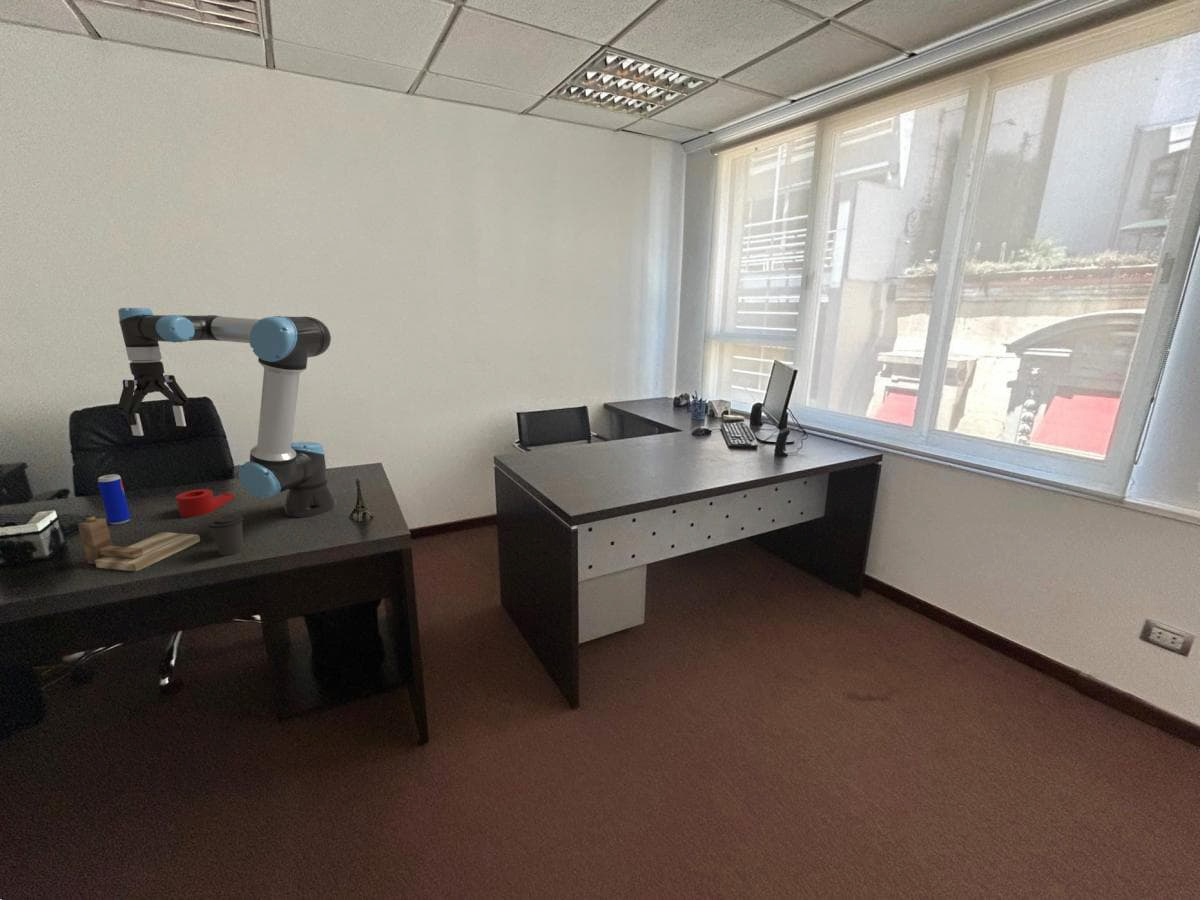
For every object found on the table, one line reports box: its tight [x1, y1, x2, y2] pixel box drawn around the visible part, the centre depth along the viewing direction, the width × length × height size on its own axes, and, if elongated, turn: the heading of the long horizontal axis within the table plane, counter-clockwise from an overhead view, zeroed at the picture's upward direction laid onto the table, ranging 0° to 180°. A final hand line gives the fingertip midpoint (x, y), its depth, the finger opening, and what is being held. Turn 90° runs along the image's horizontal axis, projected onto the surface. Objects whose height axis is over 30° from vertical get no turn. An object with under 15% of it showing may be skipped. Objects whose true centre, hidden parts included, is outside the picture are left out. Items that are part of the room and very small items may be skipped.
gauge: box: [77, 515, 143, 565], centre depth 131 cm, size 14×4×12 cm, turn 82°
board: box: [95, 531, 201, 572], centre depth 137 cm, size 12×18×2 cm, turn 172°
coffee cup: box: [207, 514, 245, 557], centre depth 138 cm, size 8×8×10 cm
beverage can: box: [97, 473, 132, 525], centre depth 156 cm, size 5×5×15 cm
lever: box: [175, 488, 235, 518], centre depth 170 cm, size 18×9×7 cm, turn 171°
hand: (160, 430), depth 155 cm, fingers open, 13 cm apart
